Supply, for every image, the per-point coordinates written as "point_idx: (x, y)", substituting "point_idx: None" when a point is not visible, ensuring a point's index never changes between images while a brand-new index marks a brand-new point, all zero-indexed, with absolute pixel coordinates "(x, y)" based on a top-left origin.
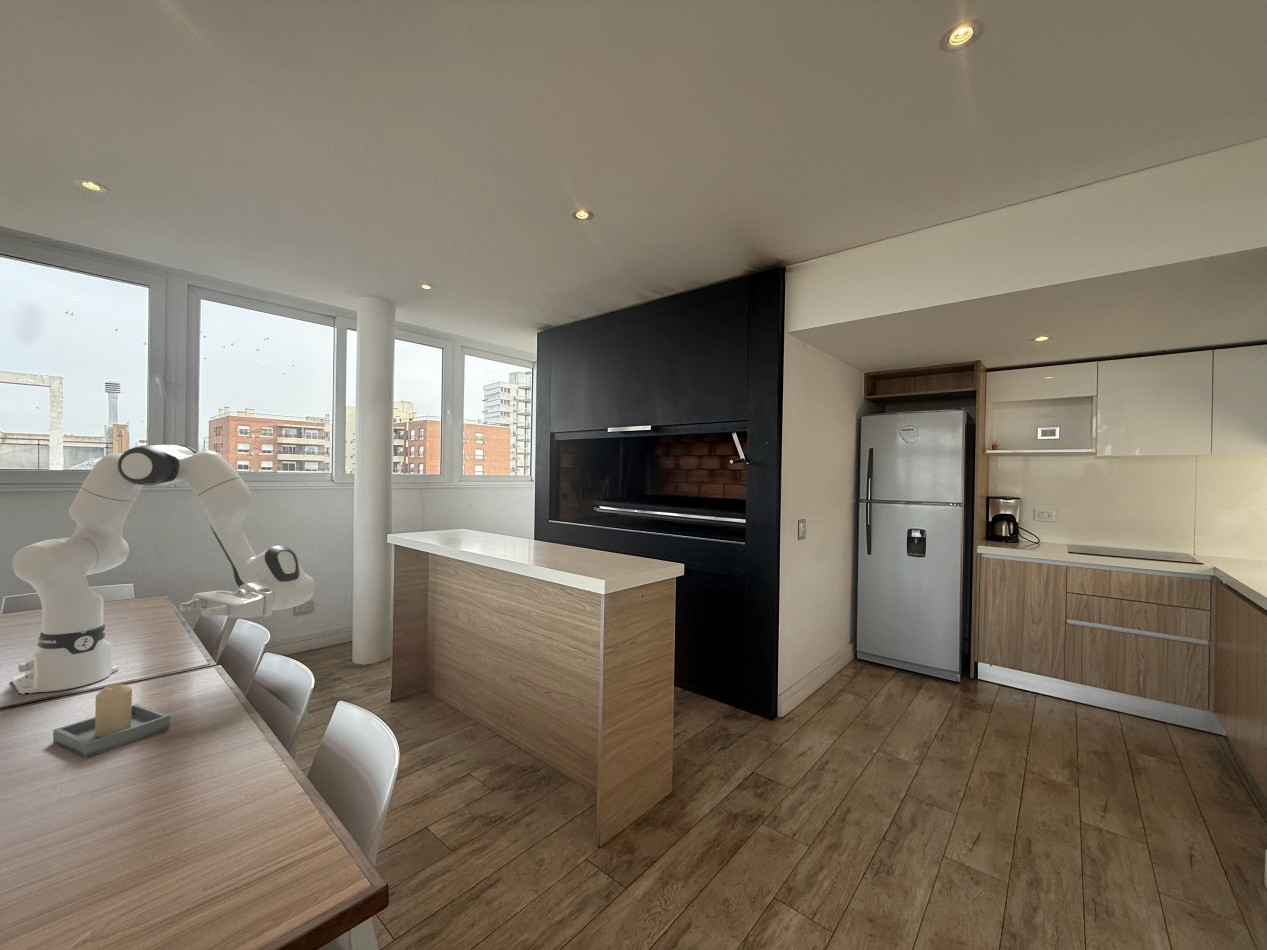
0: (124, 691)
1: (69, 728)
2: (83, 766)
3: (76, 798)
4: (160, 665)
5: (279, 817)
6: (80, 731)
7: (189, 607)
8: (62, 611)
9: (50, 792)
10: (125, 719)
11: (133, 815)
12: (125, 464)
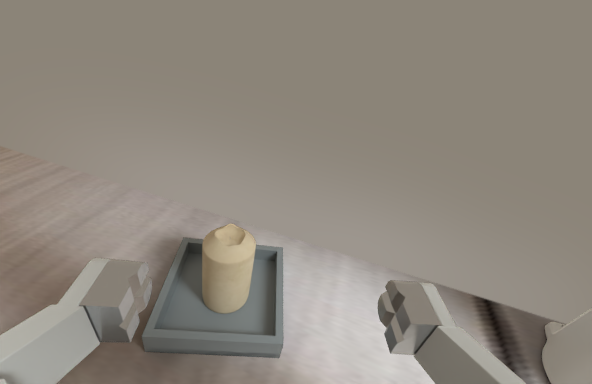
0: (205, 244)
1: (276, 261)
2: (164, 242)
3: (94, 209)
4: None
5: None
6: (274, 277)
7: (393, 333)
8: None
9: (140, 210)
10: (202, 283)
11: None
12: None
